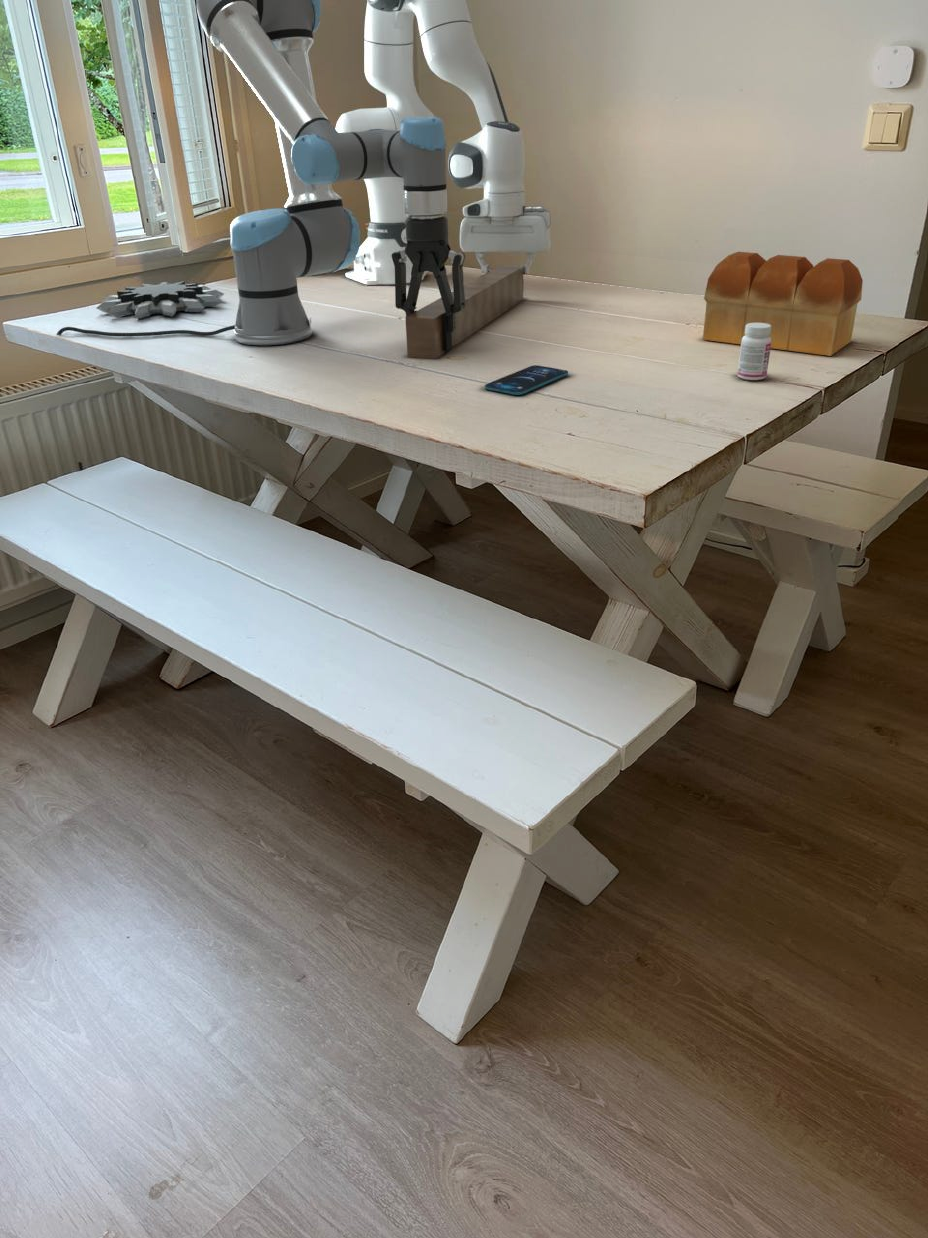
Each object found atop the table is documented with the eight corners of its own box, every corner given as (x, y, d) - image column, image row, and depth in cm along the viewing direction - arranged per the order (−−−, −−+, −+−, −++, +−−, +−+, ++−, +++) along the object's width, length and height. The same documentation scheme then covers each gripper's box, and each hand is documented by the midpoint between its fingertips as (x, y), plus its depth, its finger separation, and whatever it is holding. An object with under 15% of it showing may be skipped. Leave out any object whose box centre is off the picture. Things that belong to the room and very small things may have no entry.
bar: (435, 358, 173) (433, 318, 170) (407, 356, 175) (405, 316, 171) (523, 299, 217) (523, 266, 214) (500, 297, 219) (500, 265, 215)
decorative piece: (147, 307, 200) (64, 294, 216) (150, 326, 202) (68, 311, 217) (252, 283, 221) (169, 272, 237) (255, 300, 223) (172, 288, 238)
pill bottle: (768, 380, 155) (775, 328, 150) (738, 380, 155) (744, 328, 151) (765, 372, 159) (772, 321, 155) (736, 372, 160) (742, 321, 155)
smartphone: (481, 385, 155) (533, 364, 165) (481, 389, 155) (533, 367, 165) (519, 392, 151) (570, 370, 161) (519, 396, 151) (570, 374, 161)
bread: (700, 339, 180) (707, 257, 172) (725, 326, 188) (734, 247, 181) (832, 356, 167) (847, 268, 159) (853, 341, 175) (868, 257, 168)
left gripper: (483, 213, 167) (485, 346, 178) (387, 212, 172) (395, 340, 184) (468, 219, 161) (471, 356, 172) (369, 217, 166) (378, 350, 178)
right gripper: (554, 204, 203) (554, 272, 209) (466, 204, 209) (468, 270, 216) (546, 207, 197) (546, 276, 204) (455, 207, 204) (458, 274, 211)
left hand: (432, 347), depth 178 cm, fingers closed on bar, 6 cm apart
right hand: (505, 273), depth 210 cm, fingers open, 8 cm apart
